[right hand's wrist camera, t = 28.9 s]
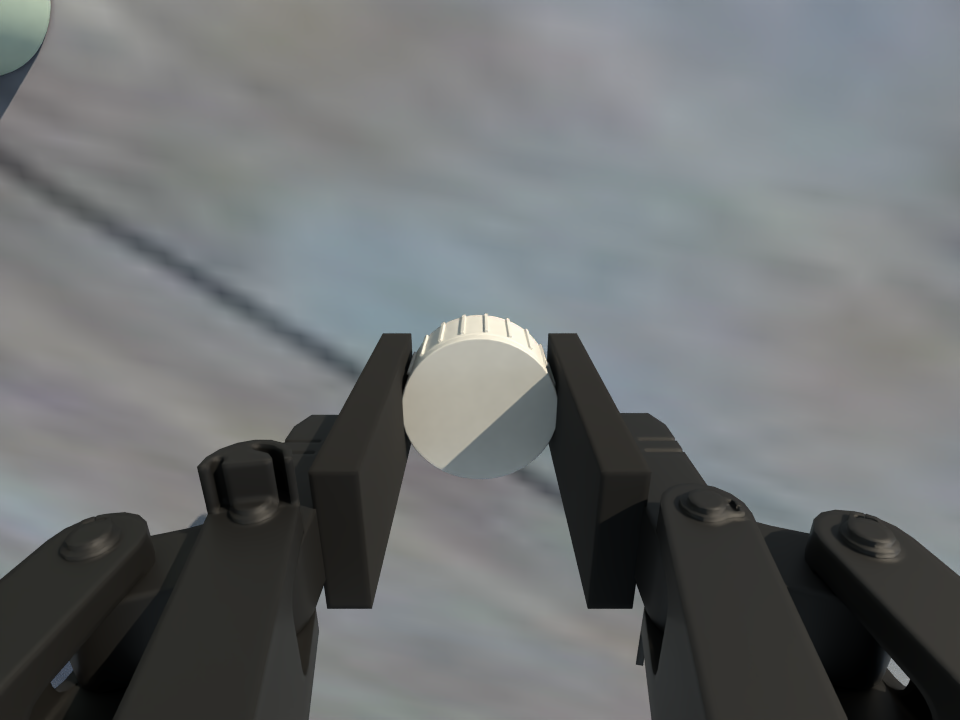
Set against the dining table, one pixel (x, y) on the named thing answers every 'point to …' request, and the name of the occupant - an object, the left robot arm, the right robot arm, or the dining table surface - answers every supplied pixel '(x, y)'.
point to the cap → (479, 398)
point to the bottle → (21, 31)
